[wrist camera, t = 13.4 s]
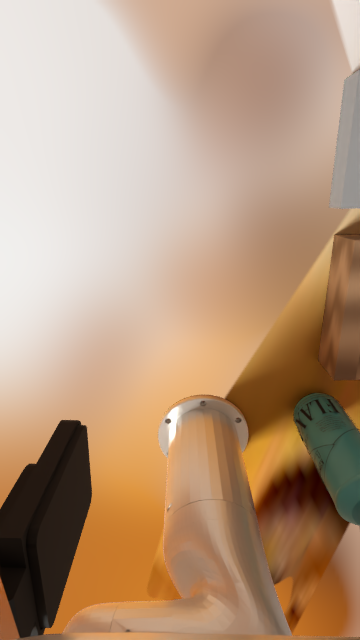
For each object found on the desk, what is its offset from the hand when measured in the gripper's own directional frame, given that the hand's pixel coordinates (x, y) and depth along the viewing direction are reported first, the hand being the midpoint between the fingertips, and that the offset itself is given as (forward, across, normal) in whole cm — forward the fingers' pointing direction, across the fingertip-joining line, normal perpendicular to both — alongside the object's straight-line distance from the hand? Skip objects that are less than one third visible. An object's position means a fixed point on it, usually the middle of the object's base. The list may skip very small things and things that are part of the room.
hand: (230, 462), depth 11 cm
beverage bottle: (+32, -17, +18) cm, 41 cm away
